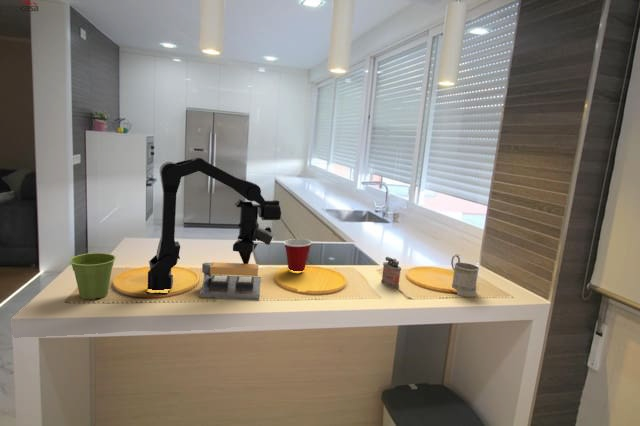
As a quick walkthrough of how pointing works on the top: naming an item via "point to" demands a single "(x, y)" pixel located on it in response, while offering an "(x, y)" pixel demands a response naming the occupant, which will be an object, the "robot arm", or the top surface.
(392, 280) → the lighter
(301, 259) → the plastic cup
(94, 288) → the plant pot
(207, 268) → the wooden plank
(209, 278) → the power supply chassis
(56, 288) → the top surface
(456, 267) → the mug
